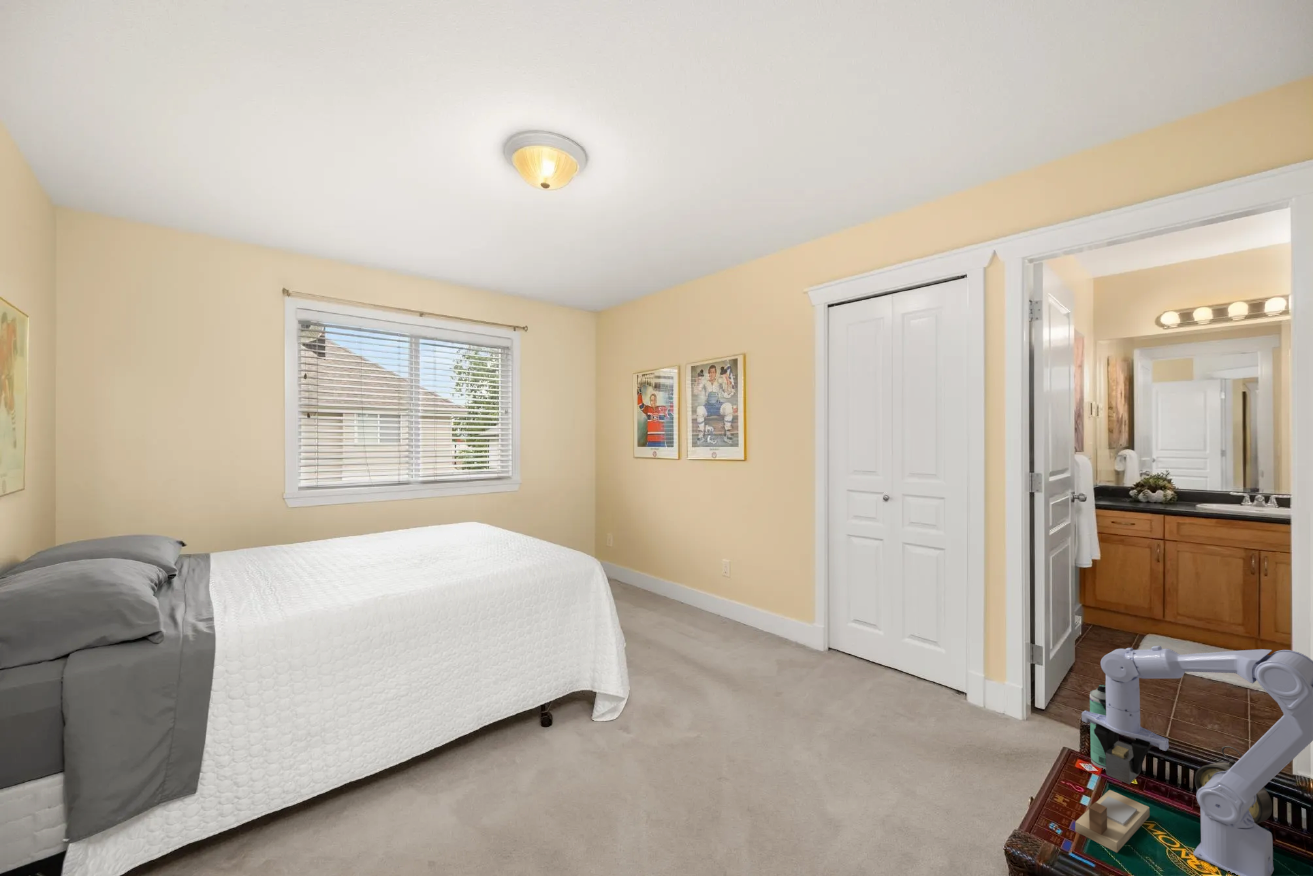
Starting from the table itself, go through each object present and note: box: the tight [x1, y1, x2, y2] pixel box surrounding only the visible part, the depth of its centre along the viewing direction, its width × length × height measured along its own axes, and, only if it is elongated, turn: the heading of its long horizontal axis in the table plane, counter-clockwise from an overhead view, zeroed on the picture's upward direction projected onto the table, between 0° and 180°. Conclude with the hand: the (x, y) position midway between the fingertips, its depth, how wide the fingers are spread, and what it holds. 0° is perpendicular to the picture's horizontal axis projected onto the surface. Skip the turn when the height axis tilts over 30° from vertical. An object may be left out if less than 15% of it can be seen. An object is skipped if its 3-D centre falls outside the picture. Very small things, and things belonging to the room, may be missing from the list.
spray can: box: [1089, 684, 1120, 771], centre depth 136 cm, size 6×6×20 cm
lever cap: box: [1105, 741, 1139, 785], centre depth 119 cm, size 4×7×6 cm, turn 123°
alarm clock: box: [1194, 745, 1273, 825], centre depth 115 cm, size 11×5×16 cm, turn 17°
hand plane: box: [1074, 789, 1150, 853], centre depth 116 cm, size 7×18×6 cm, turn 122°
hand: (1123, 766), depth 119 cm, fingers closed on lever cap, 4 cm apart
